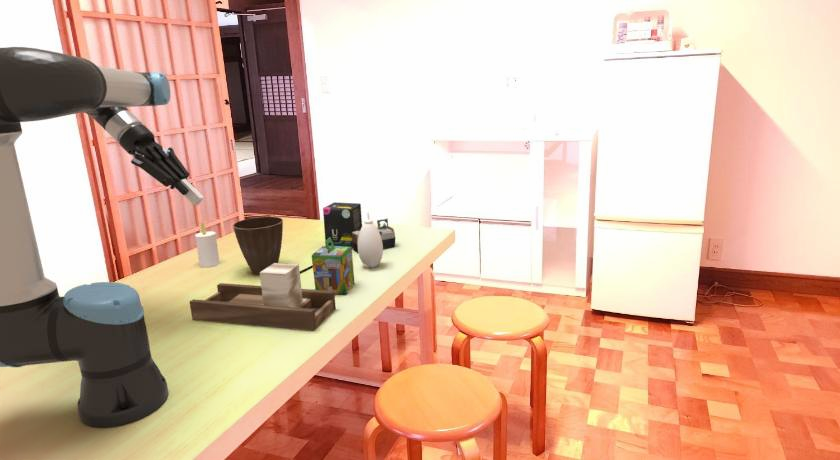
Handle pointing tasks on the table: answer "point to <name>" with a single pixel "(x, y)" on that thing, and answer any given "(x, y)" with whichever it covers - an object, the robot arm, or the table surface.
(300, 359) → the table surface
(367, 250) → the grey rubber bulb
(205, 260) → the candle
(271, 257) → the plant pot
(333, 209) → the tampon box
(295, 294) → the cream block
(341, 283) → the chalk box
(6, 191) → the robot arm
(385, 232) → the camera
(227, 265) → the table surface
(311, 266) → the pen
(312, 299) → the tray
